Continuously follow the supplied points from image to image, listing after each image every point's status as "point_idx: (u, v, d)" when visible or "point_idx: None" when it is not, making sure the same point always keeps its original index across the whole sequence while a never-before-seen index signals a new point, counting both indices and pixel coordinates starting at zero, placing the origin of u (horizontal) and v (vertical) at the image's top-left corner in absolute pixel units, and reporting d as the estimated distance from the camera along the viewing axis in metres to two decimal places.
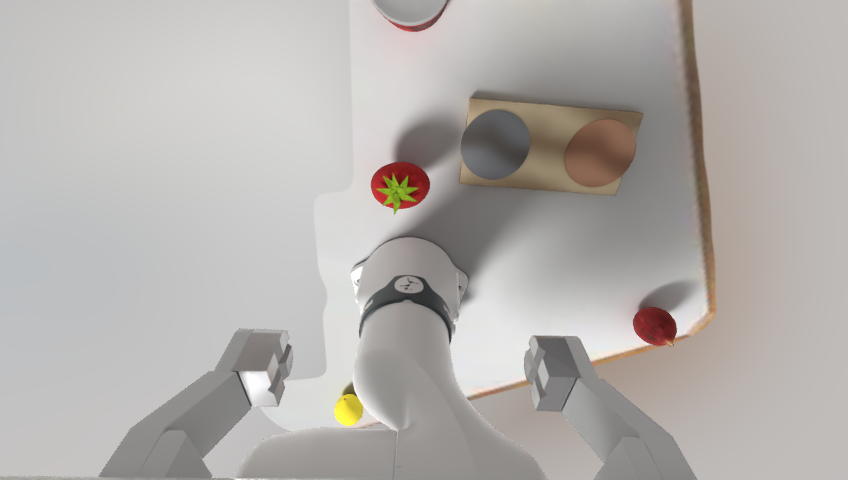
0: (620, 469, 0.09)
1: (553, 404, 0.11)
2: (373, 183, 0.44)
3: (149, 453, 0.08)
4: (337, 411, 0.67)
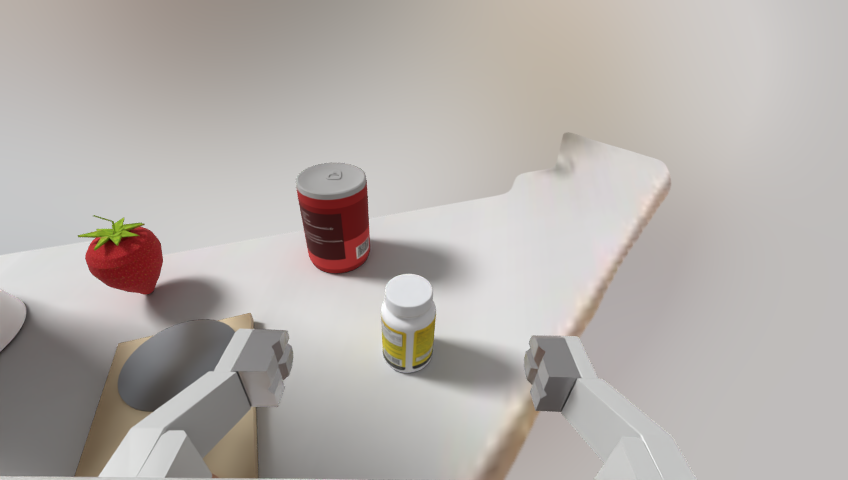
0: (620, 469, 0.09)
1: (553, 404, 0.11)
2: None
3: (149, 453, 0.08)
4: None
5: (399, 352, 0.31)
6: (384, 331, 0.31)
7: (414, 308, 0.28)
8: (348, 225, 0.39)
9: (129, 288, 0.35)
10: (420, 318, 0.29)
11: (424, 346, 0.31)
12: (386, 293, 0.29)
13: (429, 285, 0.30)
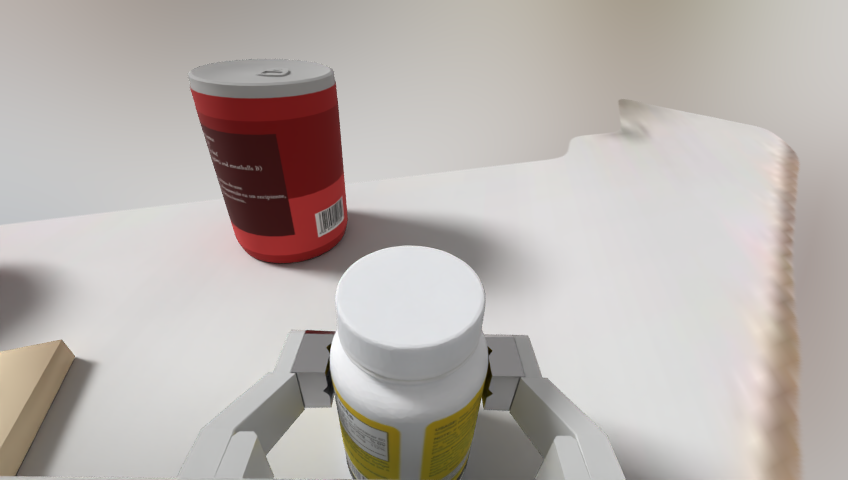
0: (553, 468, 0.09)
1: (500, 403, 0.11)
2: None
3: (223, 454, 0.08)
4: None
5: (380, 471, 0.11)
6: (339, 410, 0.11)
7: (428, 354, 0.08)
8: (295, 164, 0.20)
9: None
10: (446, 380, 0.09)
11: (453, 454, 0.11)
12: (338, 299, 0.09)
13: (473, 277, 0.10)
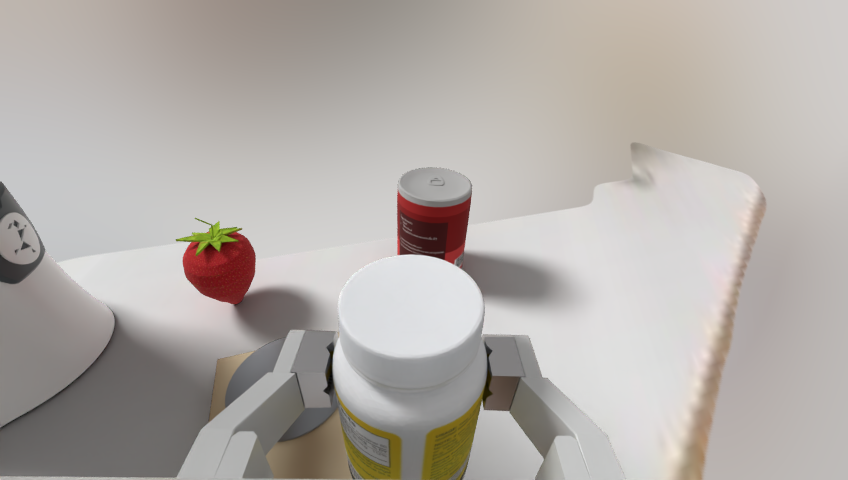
0: (553, 468, 0.09)
1: (501, 403, 0.11)
2: None
3: (223, 454, 0.08)
4: None
5: (382, 477, 0.11)
6: (341, 416, 0.11)
7: (428, 364, 0.08)
8: (452, 235, 0.36)
9: (225, 298, 0.32)
10: (446, 387, 0.09)
11: (453, 460, 0.11)
12: (341, 309, 0.09)
13: (473, 286, 0.10)
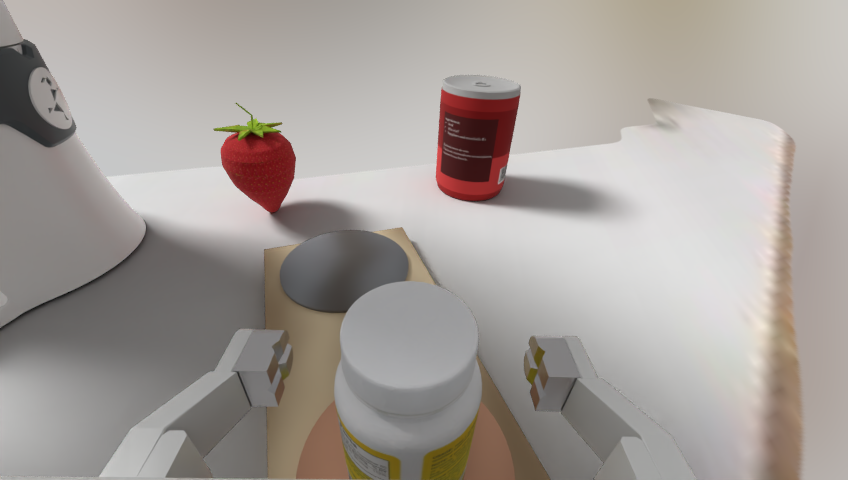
0: (620, 469, 0.09)
1: (553, 404, 0.11)
2: None
3: (149, 453, 0.08)
4: None
5: None
6: (342, 436, 0.11)
7: (425, 393, 0.09)
8: (501, 137, 0.34)
9: (266, 194, 0.30)
10: (442, 412, 0.10)
11: (449, 477, 0.11)
12: (342, 338, 0.10)
13: (467, 314, 0.11)
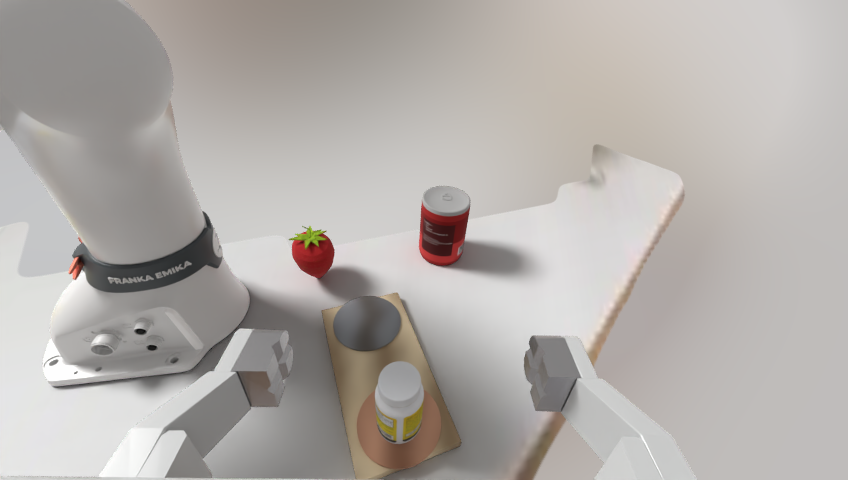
0: (620, 469, 0.09)
1: (553, 404, 0.11)
2: None
3: (149, 453, 0.08)
4: None
5: (390, 430, 0.34)
6: (377, 412, 0.34)
7: (403, 401, 0.32)
8: (458, 232, 0.56)
9: (318, 274, 0.52)
10: (409, 405, 0.33)
11: (413, 425, 0.35)
12: (379, 384, 0.33)
13: (418, 375, 0.33)
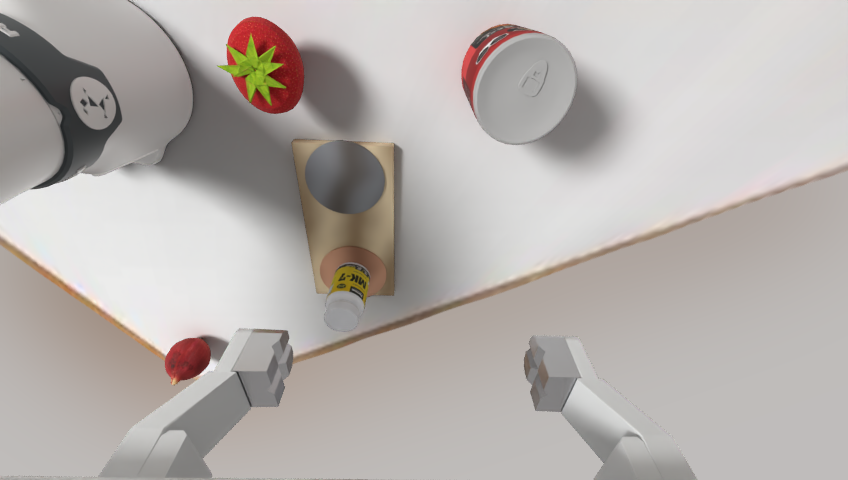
0: (619, 469, 0.09)
1: (553, 404, 0.11)
2: (258, 25, 0.28)
3: (149, 453, 0.08)
4: None
5: None
6: None
7: (340, 330, 0.43)
8: None
9: None
10: None
11: None
12: (324, 318, 0.42)
13: (356, 322, 0.42)
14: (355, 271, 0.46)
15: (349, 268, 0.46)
